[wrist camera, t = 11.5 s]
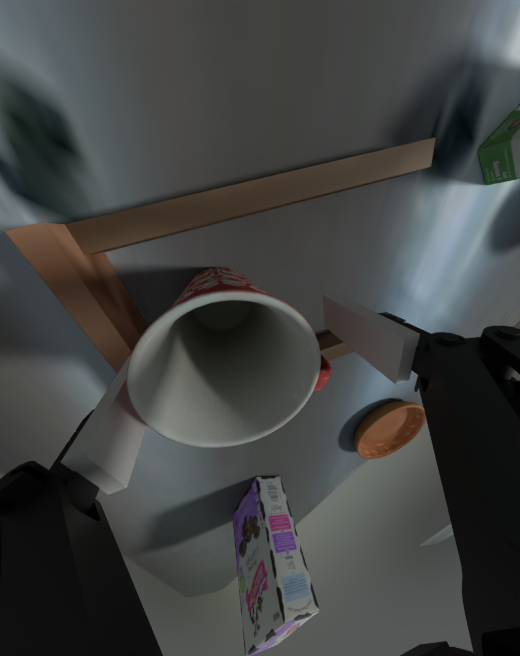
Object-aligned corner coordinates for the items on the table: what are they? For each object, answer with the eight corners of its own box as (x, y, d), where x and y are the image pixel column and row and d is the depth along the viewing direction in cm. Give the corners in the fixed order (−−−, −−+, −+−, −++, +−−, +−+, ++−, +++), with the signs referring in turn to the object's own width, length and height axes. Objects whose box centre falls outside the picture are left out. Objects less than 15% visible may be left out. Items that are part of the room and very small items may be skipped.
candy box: (255, 475, 37) (285, 626, 23) (280, 474, 39) (322, 611, 25) (231, 514, 41) (243, 662, 27) (255, 511, 44) (278, 647, 29)
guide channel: (63, 232, 15) (4, 231, 11) (403, 151, 19) (463, 125, 14) (173, 399, 25) (165, 434, 20) (385, 324, 28) (418, 340, 24)
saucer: (357, 456, 45) (366, 469, 42) (339, 423, 37) (349, 437, 34) (415, 421, 44) (428, 433, 42) (409, 381, 37) (425, 392, 34)
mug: (164, 323, 20) (103, 445, 8) (191, 240, 18) (160, 247, 6) (264, 353, 25) (315, 456, 13) (298, 291, 22) (398, 352, 11)
